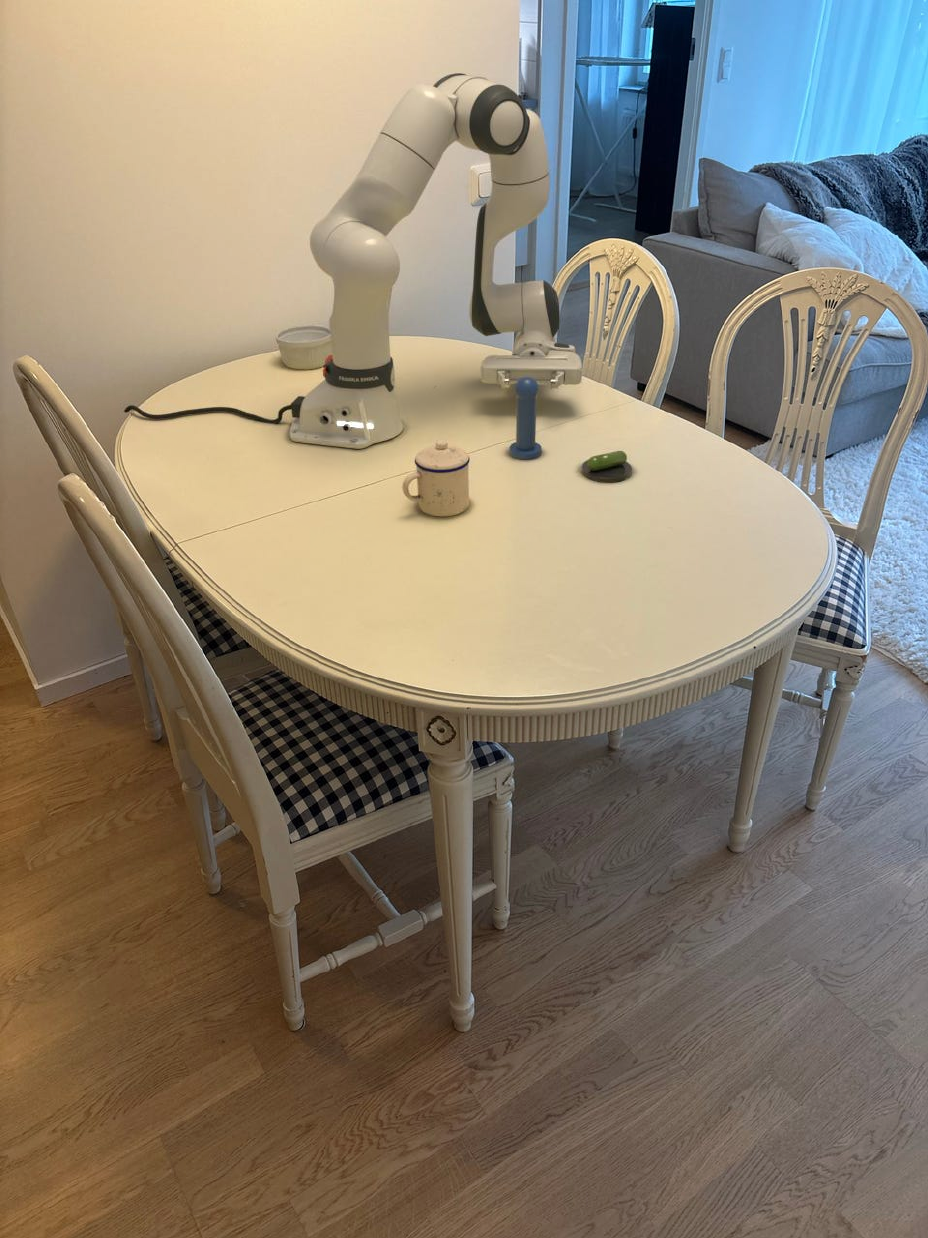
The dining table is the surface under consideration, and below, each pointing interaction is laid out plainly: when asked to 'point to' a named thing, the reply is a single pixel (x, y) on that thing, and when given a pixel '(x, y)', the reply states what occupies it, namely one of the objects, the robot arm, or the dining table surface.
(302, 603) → the dining table surface
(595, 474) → the pickle
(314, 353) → the ramekin
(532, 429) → the blue handle
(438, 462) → the teacup with lid
